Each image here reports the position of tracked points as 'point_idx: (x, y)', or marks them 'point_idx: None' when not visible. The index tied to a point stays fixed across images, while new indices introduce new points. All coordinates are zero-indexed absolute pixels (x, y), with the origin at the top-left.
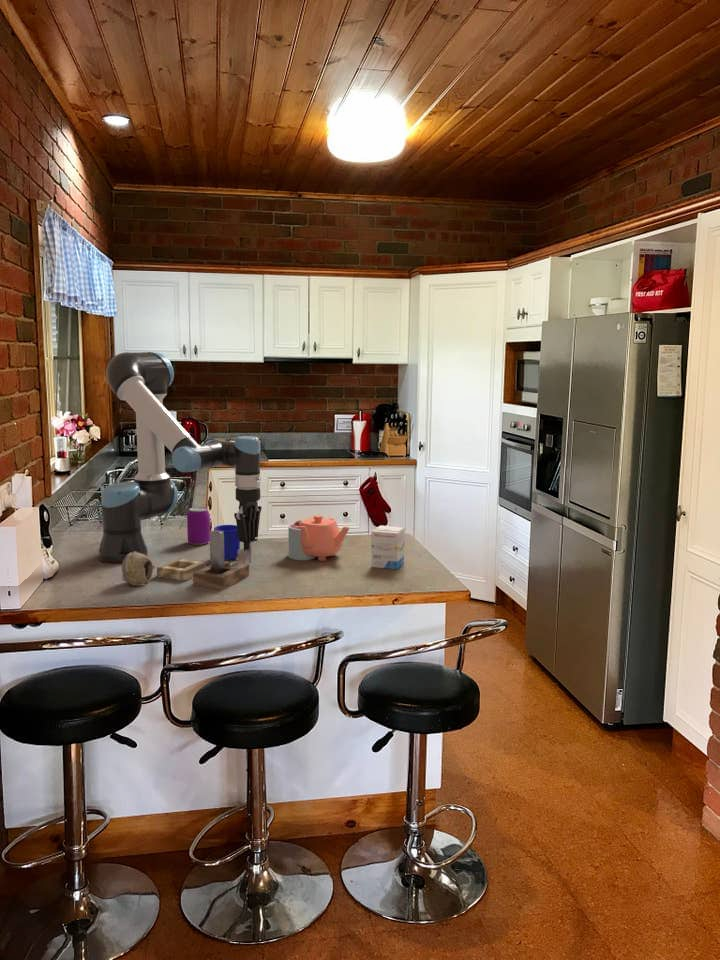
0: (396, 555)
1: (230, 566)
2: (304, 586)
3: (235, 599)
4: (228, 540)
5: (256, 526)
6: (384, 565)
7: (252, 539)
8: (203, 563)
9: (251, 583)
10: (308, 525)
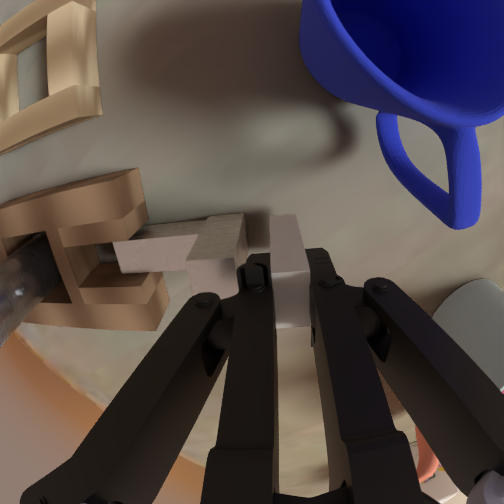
0: None
1: (121, 248)
2: (200, 430)
3: (39, 351)
4: (332, 71)
5: (396, 390)
6: None
7: (311, 328)
8: (68, 120)
9: (123, 340)
10: None
